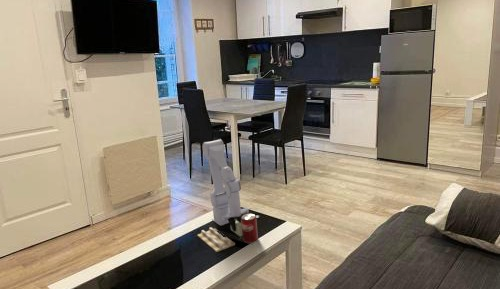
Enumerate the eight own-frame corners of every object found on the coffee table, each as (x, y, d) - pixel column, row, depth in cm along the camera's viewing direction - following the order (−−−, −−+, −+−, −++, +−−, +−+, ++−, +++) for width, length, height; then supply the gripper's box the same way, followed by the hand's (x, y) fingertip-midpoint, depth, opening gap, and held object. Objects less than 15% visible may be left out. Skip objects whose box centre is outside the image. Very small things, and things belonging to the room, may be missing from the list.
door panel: (230, 230, 187) (229, 219, 185) (234, 228, 188) (233, 218, 186) (240, 236, 179) (239, 225, 178) (243, 235, 180) (242, 224, 179)
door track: (197, 236, 183) (197, 231, 182) (215, 229, 188) (214, 225, 188) (216, 252, 166) (215, 247, 166) (235, 244, 172) (234, 240, 171)
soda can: (252, 245, 170) (249, 221, 167) (239, 241, 174) (237, 218, 172) (261, 238, 176) (259, 215, 173) (249, 234, 180) (247, 212, 177)
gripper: (225, 210, 173) (228, 237, 176) (251, 202, 180) (253, 227, 183) (218, 206, 179) (221, 231, 182) (243, 198, 186) (245, 223, 189)
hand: (236, 229), depth 183 cm, fingers open, 3 cm apart
